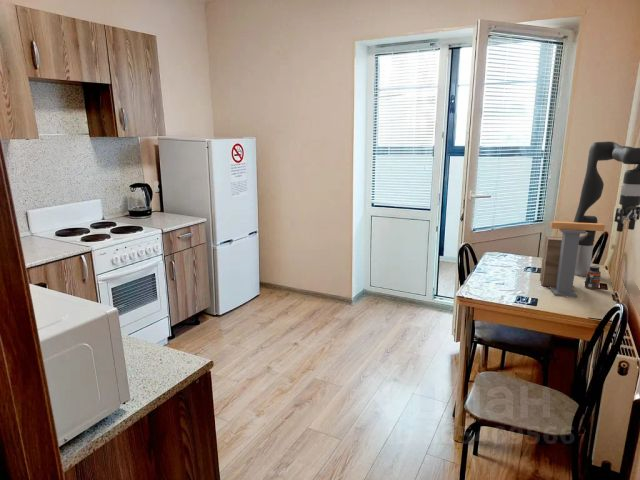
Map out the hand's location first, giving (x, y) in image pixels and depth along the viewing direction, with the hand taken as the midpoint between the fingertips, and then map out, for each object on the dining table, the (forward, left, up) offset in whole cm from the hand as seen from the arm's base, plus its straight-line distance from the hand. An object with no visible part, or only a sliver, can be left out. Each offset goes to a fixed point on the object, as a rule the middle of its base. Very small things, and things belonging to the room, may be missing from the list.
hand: (625, 230), depth 190 cm
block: (-8, -17, -2) cm, 19 cm away
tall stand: (-8, -19, -35) cm, 40 cm away
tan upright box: (-21, -21, -35) cm, 46 cm away
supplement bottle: (-21, -4, -35) cm, 41 cm away
